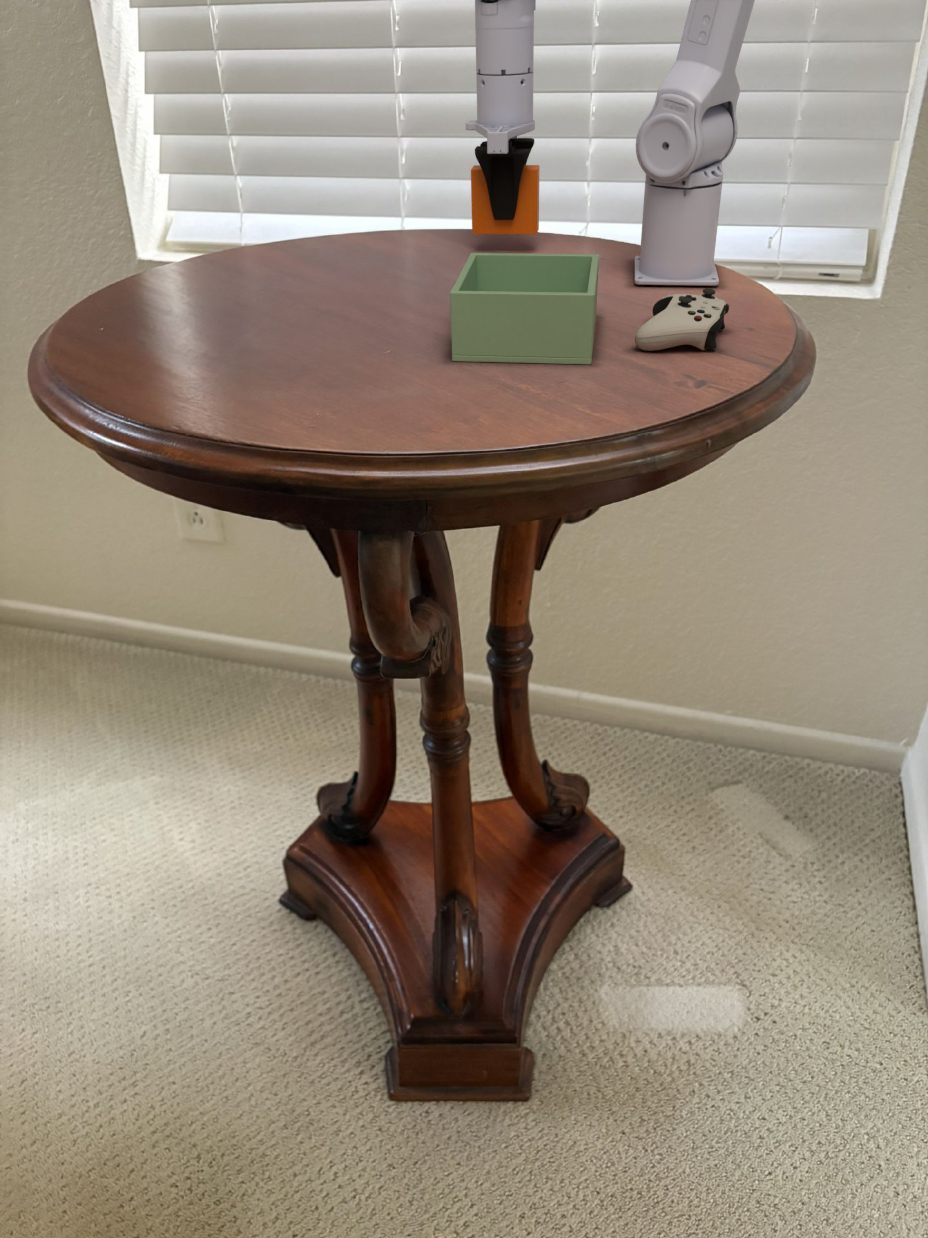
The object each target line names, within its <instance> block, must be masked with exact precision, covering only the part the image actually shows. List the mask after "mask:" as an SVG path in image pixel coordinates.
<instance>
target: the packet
mask: <svg viewBox="0 0 928 1238" xmlns="http://www.w3.org/2000/svg"><path fill="white" fill-rule="evenodd" d="M470 198H471V234H472V235H509V236H510V235H513V236H514V235H515V236H516V235H518V236H520V235H522V236H523V235H525V236H526V235H529V236H531V235H535V236H536V235H538V232H539V229H540V165H539V164H526V165H524V168H523V172H522V176H521V180H520V186H519V193H518V201H517V207H516V212H515V216H514V219H513V220H494V217H493V213H492V209H491V204H490V198H489V193H488V188H487V184H486V180H485V177H484V174H483V171H482V169H481V166H480V164H479V165H476V164H475V165H473V166H472V167H471V169H470Z"/></svg>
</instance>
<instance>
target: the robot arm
mask: <svg viewBox="0 0 928 1238" xmlns="http://www.w3.org/2000/svg"><path fill="white" fill-rule="evenodd" d="M755 1H756V0H690V3H689V6H688V12H687V15H686V19H685V23H684V26H683V31H682V36H681V39H680V43H679V47H678V51H677V56H676V59H675V62H674V63H673V65H672V67H671V68H670V70H669V72H668V73H667V75H666V76H665V78H664V79H663V81H662V83H661V84H660V86H659V87H658V89H657V92H656V97H655V101H654V104H653V107H652V108H651V110H650V112H649V113H648V115H647V116H646V117H645V118H644V120H643V121H642V123H641V125H640V127H639V128H638V131H637V134H636V138H635V153H636V159H637V161H638V164H639V166H640V168H641V170H642V171H643V172H644V173H645V177H644V179H645V182H644V193H643V206H642V207H643V208H642V219H641V220H642V221H641V234H640V235H641V237H640V249H639V250H640V251H639V255H635V256H634V284H635V285H638V286H699V287H700V286H702V287H703V286H705V287H707V286H708V287H716V286H719V284H720V279H719V275H718V270H717V267H716V262H715V253H716V244H717V235H718V226H719V217H720V207H721V198H722V189H723V179H724V169H723V162H724V161H725V160H726V159H727V158H728V157H729V156H730V154H731V153H732V151H733V149H734V148H735V145H736V142H737V139H738V122H737V121H738V120H737V104H738V100H739V97H740V94H741V88H740V84H739V81H738V76H737V74H736V69H737V64H738V60H739V58H740V54H741V50H742V46H743V43H744V39H745V37H746V34H747V29H748V26H749V21H750V18H751V15H752V12H753V8H754V4H755ZM536 2H537V1H536V0H474V23H475V25H474V26H475V27H474V28H475V73H476V74H475V75H476V120H475V119H474V120H467V121H466V122H465V130H466V131H475V132H477V133H478V134H479V135H481V136H482V137H484V138H486V140H484V141H482V142H481V143H480V145H477V146H476V147H474V155H475V158H476V160H477V163H478V164H479V165H480V166H481V169H482V171H483V174H484V177H485V180H486V184H487V188H488V193H489V198H490V204H491V209H492V213H493V217H494V220H513V219H514V216H515V212H516V207H517V201H518V193H519V186H520V180H521V176H522V172H523V168H524V165H527V162H528V160H529V157H530V154H531V151H532V149H533V147H534V146H535V138H532V137H519V136H522V135H525V134H527V133H530V132H533V131H535V129H536V121H535V120H534V55H535V53H534V52H535V51H534V50H535V48H534V47H535V46H534V45H535V44H534V43H535V42H534V41H535V39H534V38H535V11H536V7H537V6H536Z"/></svg>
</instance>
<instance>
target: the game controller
mask: <svg viewBox="0 0 928 1238" xmlns="http://www.w3.org/2000/svg"><path fill="white" fill-rule="evenodd" d="M715 294H716V290H715V289H713V288H709V287H708V288H703V289H702V293H700V294H692V293H672V294H668V295H665V296H663V297H661V298H659V299H658V300H657V301H656V302H655V303H654V304H653V307H652V317H651V318H650V319H648V320H647V321H646V322H644V324H642V325H641V326H640V327H639V328H638V330H636V333H635V335H634V342H635V345H636V347H637V348H638V349H640V350H642V351H646V352H647V351H648V352H652V351H661V350H665V349H670V348H674V347H677V346H685V345H687V346H688V345H690V346H692V347H695V348H698V349H699V350H701V351H706V350H707V349H708V350H713V349H717V333H718V332H719V331H720V330H725V328H726V324H725V315H727V314H728V313H729V311H730V304H728V303H727V302H726V300H724V299H721V298H718V297H717V296H716V295H715Z"/></svg>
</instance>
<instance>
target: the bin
mask: <svg viewBox="0 0 928 1238" xmlns="http://www.w3.org/2000/svg"><path fill="white" fill-rule="evenodd" d="M599 264H600V254H598V253H520V252H519V253H518V252H515V253H513V252H510V253H509V252H507V253H506V252H505V253H503V252H471V253H469V255H468V258H467V260H466V262H465V264H464V265H463V267H462V269H461V271H460V272H459V275H458V277H457V279H456V281H455V282H454V285H453V287H452V288H451V290H450V292H449V305H450V307H449V309H450V337H451V338H450V339H451V361H452V362H468V363H469V362H471V363H473V362H475V363H508V364H509V363H511V364H512V363H514V364H515V363H516V364H552V365H553V364H555V365H557V364H558V365H592V363H593V351H594V344H595V343H594V342H595V333H596V332H595V331H596V322H597V310H598V309H597V308H598V307H597V306H598V286H599Z"/></svg>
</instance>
